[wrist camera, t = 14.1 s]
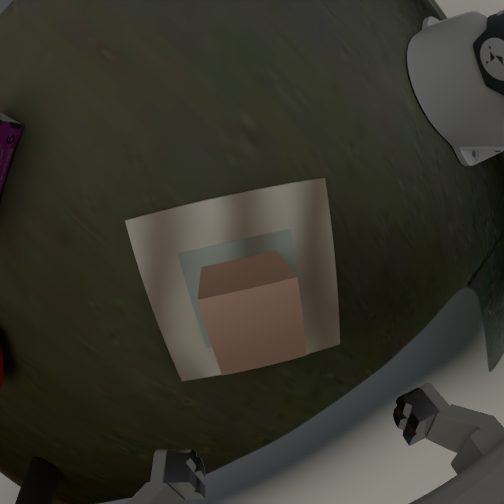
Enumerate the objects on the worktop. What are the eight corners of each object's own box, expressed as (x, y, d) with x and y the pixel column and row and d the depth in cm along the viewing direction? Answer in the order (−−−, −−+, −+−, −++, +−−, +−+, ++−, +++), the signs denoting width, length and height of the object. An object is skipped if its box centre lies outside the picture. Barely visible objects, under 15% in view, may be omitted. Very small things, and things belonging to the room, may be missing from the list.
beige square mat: (321, 177, 22) (325, 177, 21) (337, 339, 27) (340, 344, 26) (128, 219, 21) (124, 220, 20) (182, 375, 25) (182, 381, 24)
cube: (275, 250, 22) (297, 277, 16) (286, 315, 24) (306, 355, 18) (201, 266, 22) (197, 299, 16) (219, 330, 23) (221, 375, 18)
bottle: (66, 478, 30) (49, 549, 11) (42, 469, 30) (21, 535, 10) (52, 462, 29) (29, 538, 10) (27, 452, 28) (1, 522, 9)
